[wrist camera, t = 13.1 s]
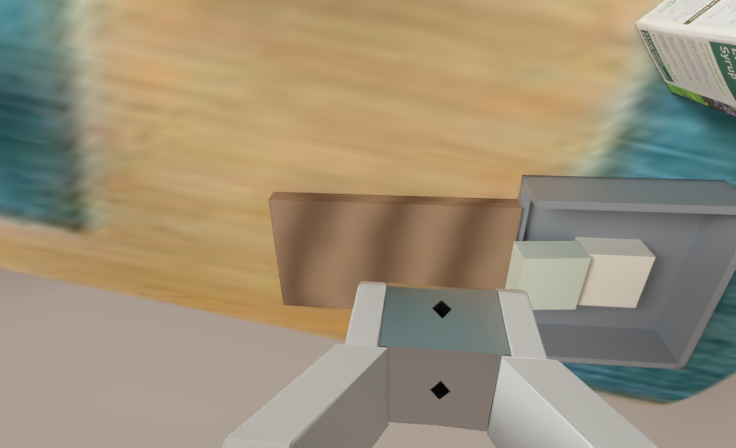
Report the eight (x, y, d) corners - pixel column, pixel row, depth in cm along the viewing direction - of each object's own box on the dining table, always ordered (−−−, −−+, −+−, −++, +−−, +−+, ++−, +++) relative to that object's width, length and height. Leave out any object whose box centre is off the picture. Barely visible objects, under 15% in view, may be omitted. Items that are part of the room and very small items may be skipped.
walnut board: (518, 199, 33) (522, 208, 32) (498, 305, 39) (501, 316, 38) (273, 191, 35) (268, 200, 34) (287, 294, 41) (283, 305, 39)
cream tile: (640, 239, 34) (655, 257, 32) (622, 288, 36) (635, 307, 34) (575, 237, 34) (586, 254, 32) (562, 285, 37) (571, 304, 34)
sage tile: (576, 240, 34) (590, 258, 31) (562, 289, 36) (575, 309, 34) (514, 241, 34) (524, 258, 31) (504, 290, 36) (513, 309, 34)
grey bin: (724, 180, 31) (767, 207, 27) (656, 331, 39) (683, 369, 35) (522, 175, 32) (537, 200, 29) (495, 322, 40) (503, 358, 36)
